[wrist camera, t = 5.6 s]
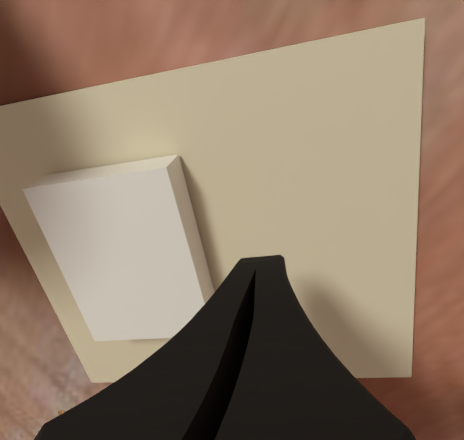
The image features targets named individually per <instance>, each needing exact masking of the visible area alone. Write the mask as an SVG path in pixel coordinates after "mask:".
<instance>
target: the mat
mask: <svg viewBox="0 0 464 440" xmlns="http://www.w3.org/2000/svg"><path fill="white" fill-rule="evenodd" d="M424 32H425V18H421V19H415V20H410V21H406V22H401V23H396V24H391V25H386V26H382V27H377V28H372V29H367V30H362V31H358V32H353V33H348V34H343V35H338V36H334V37H329V38H324V39H319V40H314V41H309V42H305V43H300V44H295V45H290V46H285V47H281V48H276V49H271V50H266V51H261V52H257V53H252V54H247V55H242V56H237V57H233V58H228V59H223V60H218V61H213V62H209V63H204V64H199V65H194V66H189V67H184V68H180V69H175V70H170V71H165V72H160V73H156V74H151V75H146V76H141V77H136V78H132V79H127V80H122V81H117V82H112V83H108V84H103V85H98V86H93V87H88V88H84V89H79V90H74V91H69V92H64V93H59V94H55V95H50V96H45V97H40V98H35V99H31V100H26V101H21V102H16V103H11V104H7V105H2V106H0V206H1V208H2V210H3V212H4V214H5V216H6V218H7V219H8V221H9V223H10V225H11V227H12V229H13V231H14V233H15V235H16V237H17V239H18V241H19V243H20V245H21V247H22V249H23V250H24V252H25V254H26V256H27V258H28V260H29V262H30V264H31V266H32V268H33V270H34V272H35V274H36V276H37V278H38V280H39V281H40V283H41V285H42V287H43V289H44V291H45V293H46V295H47V297H48V299H49V301H50V303H51V305H52V307H53V309H54V311H55V312H56V314H57V316H58V318H59V320H60V322H61V324H62V326H63V328H64V330H65V332H66V334H67V336H68V338H69V340H70V342H71V343H72V345H73V347H74V349H75V351H76V353H77V355H78V357H79V359H80V361H81V363H82V365H83V367H84V369H85V371H86V373H87V374H88V376H89V378H90V380H91V382H92V383H93V382H116V381H117V380H119V379H120V378H121V377H123V376H124V375H126V374H127V373H129V372H130V371H131V370H133V369H134V368H136V367H137V366H138V365H139V364H141V363H142V362H143V361H144V360H146V359H147V358H148V357H150V356H151V355H152V354H153V353H155V352H156V351H157V350H158V349H160V348H161V347H162V346H163V345H165V344H166V343H167V342H168V341H169V340H170V339H171V338H157V339H134V340H111V341H94V339H93V337H92V335H91V332H90V330H89V328H88V326H87V324H86V322H85V320H84V318H83V316H82V314H81V311H80V309H79V307H78V305H77V303H76V301H75V299H74V297H73V295H72V293H71V290H70V288H69V286H68V284H67V282H66V280H65V278H64V276H63V274H62V272H61V270H60V267H59V265H58V263H57V261H56V259H55V257H54V255H53V253H52V251H51V249H50V246H49V244H48V242H47V240H46V238H45V236H44V234H43V232H42V230H41V228H40V225H39V223H38V221H37V219H36V217H35V215H34V213H33V211H32V209H31V207H30V204H29V202H28V200H27V198H26V196H25V194H24V192H23V190H22V189H23V188H25V187H26V186H28V185H30V184H32V183H33V182H35V181H37V180H39V179H40V178H42V177H44V176H46V175H49V174H56V173H62V172H68V171H75V170H81V169H88V168H94V167H101V166H107V165H113V164H120V163H126V162H133V161H139V160H146V159H152V158H158V157H165V156H171V155H179V158H180V162H181V166H182V170H183V174H184V177H185V181H186V185H187V189H188V193H189V197H190V200H191V204H192V208H193V212H194V216H195V219H196V223H197V227H198V231H199V235H200V239H201V242H202V246H203V250H204V254H205V258H206V261H207V265H208V269H209V273H210V277H211V281H212V284H213V288H214V292H215V291H216V290H217V289H218V287H219V286H220V285H221V283H222V282H223V281H224V280H225V278H226V277H227V276H228V274H229V273H230V271H231V270H232V269H233V267H234V266H235V265H236V263H237V262H238V261H239V260H240V259H241V258H249V257H260V256H272V255H281V256H283V257H284V259H285V265H286V272H287V276H288V279H289V282H290V284H291V287H292V289H293V291H294V293H295V295H296V297H297V299H298V301H299V303H300V305H301V307H302V308H303V310H304V312H305V313H306V315H307V317H308V318H309V320H310V322H311V323H312V325H313V326H314V328H315V329H316V331H317V332H318V333H319V335H320V336H321V338H322V339H323V340H324V342H325V343H326V344H327V346H328V347H329V348H330V349H331V351H332V352H333V353H334V354H335V356H336V357H337V358H338V359H339V360H340V361H341V362H342V364H343V365H344V366H345V367H346V368H347V369H348V370H349V371H350V373H351V374H352V375H353V376H354V377H355V378H392V377H411V376H412V349H413V323H414V296H415V270H416V243H417V217H418V190H419V164H420V137H421V111H422V84H423V58H424Z"/></svg>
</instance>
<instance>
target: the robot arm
mask: <svg viewBox="0 0 464 440" xmlns="http://www.w3.org/2000/svg"><path fill="white" fill-rule="evenodd" d="M34 440H416V439H415V437H414V436H413V434H412V432H411V431H410V429H409V428H408V427H406V426H405V425H404V424H403V423H402V422H401V421H400V420H399V419H397V418H396V417H395V416H394V415H393V414H392V413H391V412H389V411H388V410H387V409H386V408H385V407H384V406H383V405H382V404H381V403H380V402H379V401H378V400H377V399H376V398H374V397H373V396H372V394H371V393H370V392H369V391H368V390H367V389H366V388H365V387H364V386H363V385H362V384H361V383H360V382H359V381H358V380H357V379H356V378H355V377H354V376H353V375H352V374H351V373H350V371H349V370H348V369H347V368H346V367H345V366H344V365H343V364H342V362H341V361H340V360H339V359H338V358H337V357H336V356H335V354H334V353H333V352H332V351H331V349H330V348H329V347H328V346H327V344H326V343H325V342H324V340H323V339H322V338H321V336H320V335H319V333H318V332H317V331H316V329H315V328H314V326H313V325H312V323H311V322H310V320H309V318H308V317H307V315H306V313H305V312H304V310H303V308H302V307H301V305H300V303H299V301H298V299H297V297H296V295H295V293H294V291H293V289H292V287H291V284H290V282H289V279H288V276H287V272H286V265H285V259H284V257H283V256H281V255H272V256H260V257H249V258H241V259H240V260H239V261H238V262H237V263H236V265H235V266H234V267H233V269H232V270H231V271H230V273H229V274H228V276H227V277H226V278H225V280H224V281H223V282H222V283H221V285H220V286H219V287H218V289H217V290H216V291H215V292H214V294H213V295H212V296H211V297H210V299H209V300H208V301H207V302H206V303H205V304H204V306H203V307H202V308H201V309H200V310H199V311H198V312H197V313H196V315H195V316H194V317H193V318H192V319H191V320H190V321H189V322H188V323H187V324H186V325H185V326H184V327H183V328H182V329H181V330H180V331H179V332H178V333H177V334H176V335H175V336H173V337H172V338H171V339H170V340H169V341H168V342H167V343H166V344H165V345H163V346H162V347H161V348H160V349H158V350H157V351H156V352H155V353H153V354H152V355H151V356H150V357H148V358H147V359H146V360H144V361H143V362H142V363H141V364H139V365H138V366H137V367H136V368H134V369H133V370H131V371H130V372H129V373H127V374H126V375H124V376H123V377H121V378H120V379H119V380H117V381H116V382H114V383H113V384H111V385H110V386H108V387H107V388H105V389H103V390H102V391H100V392H99V393H97V394H96V395H94V396H92V397H91V398H89V399H87V400H86V401H84V402H82V403H80V404H79V405H77V406H75V407H73V408H72V409H70V410H68V411H66V412H65V413H63V414H61V415H60V416H58V417H56V418H54V419H52V420H51V421H49V422H47V423H45V424H44V425H43V427H42V428H41V430H40V431H39V433H38V434H37V436H36V437H35V439H34Z"/></svg>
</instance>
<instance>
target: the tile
mask: <svg viewBox="0 0 464 440" xmlns="http://www.w3.org/2000/svg"><path fill="white" fill-rule="evenodd" d="M22 190H23V192H24V194H25V196H26V198H27V200H28V202H29V204H30V207H31V209H32V211H33V213H34V215H35V217H36V219H37V221H38V223H39V225H40V228H41V230H42V232H43V234H44V236H45V238H46V240H47V242H48V244H49V246H50V249H51V251H52V253H53V255H54V257H55V259H56V261H57V263H58V265H59V267H60V270H61V272H62V274H63V276H64V278H65V280H66V282H67V284H68V286H69V288H70V290H71V293H72V295H73V297H74V299H75V301H76V303H77V305H78V307H79V309H80V311H81V314H82V316H83V318H84V320H85V322H86V324H87V326H88V328H89V330H90V332H91V335H92V337H93V339H94V341H111V340H134V339H157V338H172V337H173V336H175V335H176V334H177V333H178V332H179V331H180V330H181V329H182V328H183V327H184V326H185V325H186V324H187V323H188V322H189V321H190V320H191V319H192V318H193V317H194V316H195V315H196V313H197V312H198V311H199V310H200V309H201V308H202V307H203V306H204V304H205V303H206V302H207V301H208V300H209V299H210V297H211V296H212V295H213V294H214V288H213V284H212V281H211V277H210V273H209V269H208V265H207V261H206V258H205V254H204V250H203V246H202V242H201V239H200V235H199V231H198V227H197V223H196V219H195V216H194V212H193V208H192V204H191V200H190V197H189V193H188V189H187V185H186V181H185V177H184V174H183V170H182V166H181V162H180V158H179V155H171V156H165V157H158V158H152V159H146V160H139V161H133V162H126V163H120V164H113V165H107V166H101V167H94V168H88V169H81V170H75V171H68V172H62V173H56V174H49V175H46V176H44V177H42V178H40V179H39V180H37V181H35V182H33V183H32V184H30V185H28V186H26V187H25V188H23V189H22Z"/></svg>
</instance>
